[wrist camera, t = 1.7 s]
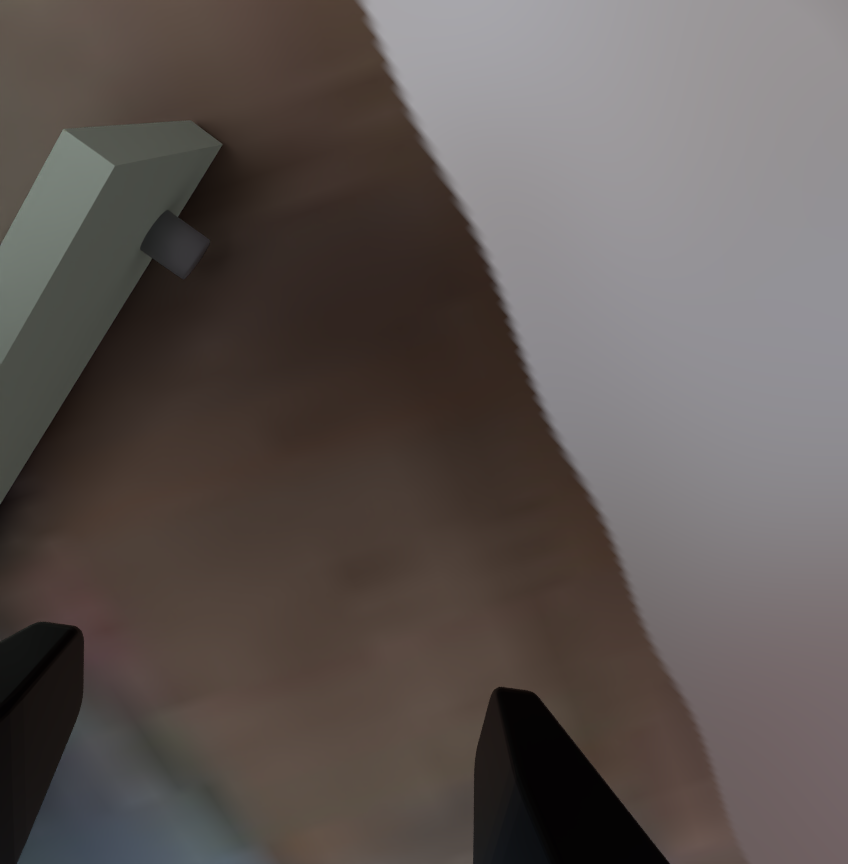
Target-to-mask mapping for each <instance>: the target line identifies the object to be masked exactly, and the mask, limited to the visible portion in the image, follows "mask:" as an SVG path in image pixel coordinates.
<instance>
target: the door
mask: <svg viewBox="0 0 848 864" xmlns="http://www.w3.org/2000/svg"><path fill="white" fill-rule="evenodd" d="M222 145H223V144H222V143H220V142H219V141H218V140H216V139H215V138H214V137H212V136H211V135H210V134H208V133H207V132H206V131H204V130H203V129H202V128H200V127H199V126H198V125H196V124H195V123H194V122H192V121H191V120H187V121H172V122H158V123H143V124H128V125H113V126H99V127H84V128H69V129H63V131H62V132H61V134H60V136H59V138H58V140H57V142H56V144H55V145H54V147H53V149H52V151H51V153H50V155H49V157H48V158H47V160H46V162H45V164H44V166H43V168H42V169H41V171H40V173H39V175H38V177H37V179H36V181H35V182H34V184H33V186H32V188H31V190H30V192H29V194H28V195H27V197H26V199H25V201H24V203H23V205H22V206H21V208H20V210H19V212H18V214H17V216H16V218H15V219H14V221H13V223H12V225H11V227H10V229H9V231H8V232H7V234H6V236H5V238H4V240H3V242H2V243H1V245H0V504H1V502H2V501H3V499H4V498H5V496H6V494H7V493H8V491H9V490H10V488H11V486H12V485H13V483H14V481H15V480H16V478H17V477H18V475H19V473H20V472H21V470H22V468H23V467H24V465H25V464H26V462H27V460H28V459H29V457H30V456H31V454H32V452H33V451H34V449H35V447H36V446H37V444H38V443H39V441H40V439H41V438H42V436H43V435H44V433H45V431H46V430H47V428H48V426H49V425H50V423H51V422H52V420H53V418H54V417H55V415H56V413H57V412H58V410H59V409H60V407H61V405H62V404H63V402H64V401H65V399H66V397H67V396H68V394H69V392H70V391H71V389H72V388H73V386H74V384H75V383H76V381H77V379H78V378H79V376H80V375H81V373H82V371H83V370H84V368H85V367H86V365H87V363H88V362H89V360H90V358H91V357H92V355H93V354H94V352H95V350H96V349H97V347H98V346H99V344H100V342H101V341H102V339H103V337H104V336H105V334H106V333H107V331H108V329H109V328H110V326H111V324H112V323H113V321H114V320H115V318H116V316H117V315H118V313H119V312H120V310H121V308H122V307H123V305H124V303H125V302H126V300H127V299H128V297H129V295H130V294H131V292H132V290H133V289H134V287H135V286H136V284H137V282H138V281H139V279H140V278H141V276H142V274H143V273H144V271H145V269H146V268H147V266H148V265H149V263H150V261H151V260H152V258H153V259H154V260H156V261H157V262H158V263H160V264H161V265H163V266H164V267H166V268H167V269H169V270H170V271H171V272H173V273H174V274H176V275H177V276H179V277H180V278H182V279H185V278H186V277H187V276H188V275H189V274H190V273H191V271H192V270H193V269H194V268H195V266H196V265H197V263H198V262H199V261H200V259H201V258H202V256H203V255H204V253H205V251H206V250H207V248H208V246H209V244H210V240H209V239H208V238H207V237H205V236H204V235H202V234H201V233H200V232H198V231H197V230H195V229H194V228H193V227H191V226H190V225H188V224H187V223H186V222H184V221H183V220H181V219H180V218H179V217H178V216H179V214H180V213H181V211H182V210H183V208H184V206H185V205H186V203H187V201H188V200H189V198H190V197H191V195H192V193H193V192H194V190H195V189H196V187H197V185H198V184H199V182H200V180H201V179H202V177H203V176H204V174H205V172H206V171H207V169H208V168H209V166H210V164H211V163H212V161H213V159H214V158H215V156H216V155H217V153H218V151H219V150H220V148H221V146H222Z"/></svg>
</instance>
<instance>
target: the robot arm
mask: <svg viewBox="0 0 848 864" xmlns="http://www.w3.org/2000/svg"><path fill="white" fill-rule="evenodd" d="M83 670H84V637H83V634H82V631H81V630H80V629H79V628H78V627H76V626H72V625H65V624H58V623H51V622H37V623H35V624H32V625H30V626H28V627H27V628H25V629H23V630H21V631H19V632H17V633H16V634H14V635H12V636H10V637H8V638H6V639H5V640H3V641H1V642H0V864H17V862H18V860H19V857H20V855H21V853H22V850H23V848H24V846H25V844H26V841H27V839H28V836H29V834H30V831H31V829H32V827H33V824H34V822H35V819H36V817H37V814H38V812H39V810H40V807H41V805H42V802H43V800H44V797H45V795H46V793H47V790H48V788H49V785H50V783H51V780H52V778H53V776H54V773H55V771H56V768H57V766H58V763H59V761H60V759H61V756H62V754H63V751H64V749H65V746H66V744H67V742H68V739H69V737H70V734H71V732H72V729H73V727H74V725H75V722H76V720H77V717H78V714H79V711H80V707H81V703H82V698H83ZM473 864H670V863H669V862H668V861H667V859H666V858H665V857H664V855H663V854H662V853H661V852H660V850H659V849H658V848H657V847H656V845H655V844H654V843H653V842H652V840H651V839H650V838H649V836H648V835H647V834H646V833H645V831H644V830H643V829H642V828H641V826H640V825H639V824H638V823H637V821H636V820H635V819H634V817H633V816H632V815H631V814H630V812H629V811H628V810H627V809H626V807H625V806H624V805H623V803H622V802H621V801H620V800H619V798H618V797H617V796H616V795H615V793H614V792H613V791H612V790H611V788H610V787H609V786H608V784H607V783H606V782H605V781H604V779H603V778H602V777H601V776H600V774H599V773H598V772H597V771H596V769H595V768H594V767H593V765H592V764H591V763H590V762H589V760H588V759H587V758H586V757H585V755H584V754H583V753H582V751H581V750H580V749H579V748H578V746H577V745H576V744H575V743H574V741H573V740H572V739H571V738H570V736H569V735H568V734H567V732H566V731H565V730H564V729H563V727H562V726H561V725H560V724H559V722H558V721H557V720H556V718H555V717H554V716H553V715H552V713H551V712H550V711H549V710H548V708H547V707H546V706H545V705H544V703H543V702H542V701H541V699H540V698H539V697H538V696H537V695H536V694H535V693H533V692H531V691H527V690H520V689H513V688H506V687H498V688H496V689H495V690H494V691H493V693H492V695H491V697H490V700H489V704H488V708H487V712H486V716H485V719H484V723H483V727H482V731H481V734H480V738H479V742H478V746H477V751H476V757H475V768H474V843H473Z"/></svg>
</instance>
